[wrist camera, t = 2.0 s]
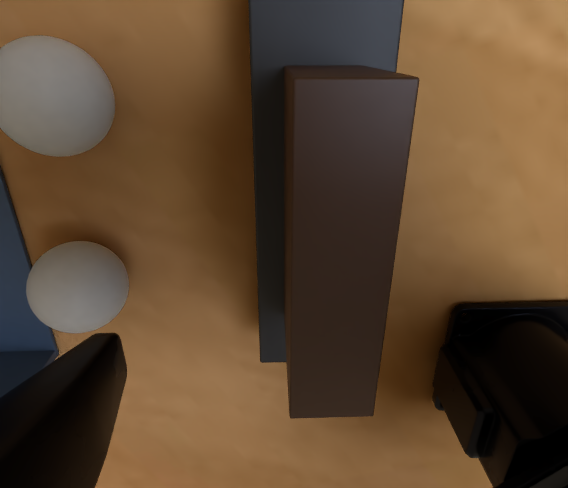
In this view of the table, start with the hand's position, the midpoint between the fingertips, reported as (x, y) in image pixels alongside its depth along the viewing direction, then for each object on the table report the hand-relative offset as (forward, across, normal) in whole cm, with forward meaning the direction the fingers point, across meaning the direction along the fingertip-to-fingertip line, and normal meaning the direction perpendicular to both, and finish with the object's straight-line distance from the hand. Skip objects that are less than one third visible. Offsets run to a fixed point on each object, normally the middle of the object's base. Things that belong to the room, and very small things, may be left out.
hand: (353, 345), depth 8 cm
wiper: (+10, 0, 0) cm, 10 cm away
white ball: (+8, +8, -4) cm, 12 cm away
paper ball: (+8, +9, +3) cm, 12 cm away
